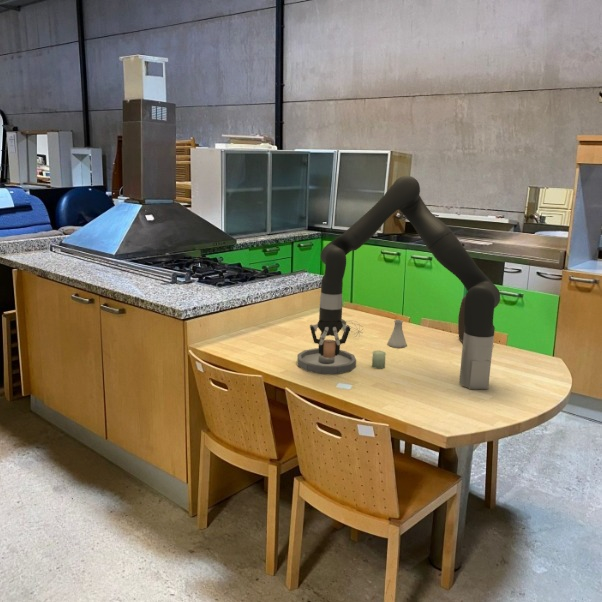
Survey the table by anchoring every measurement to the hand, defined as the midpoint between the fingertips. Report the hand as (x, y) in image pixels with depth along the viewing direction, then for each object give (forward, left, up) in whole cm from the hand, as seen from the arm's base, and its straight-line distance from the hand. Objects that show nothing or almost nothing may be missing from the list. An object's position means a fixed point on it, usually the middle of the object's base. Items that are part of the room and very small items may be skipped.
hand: (328, 354), depth 205 cm
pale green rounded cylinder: (+4, -18, -5) cm, 19 cm away
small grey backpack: (+32, -61, -6) cm, 69 cm away
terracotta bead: (0, 0, 0) cm, 0 cm away
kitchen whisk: (+51, -12, -6) cm, 52 cm away
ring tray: (+6, 0, -5) cm, 8 cm away
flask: (+28, -30, -6) cm, 41 cm away
